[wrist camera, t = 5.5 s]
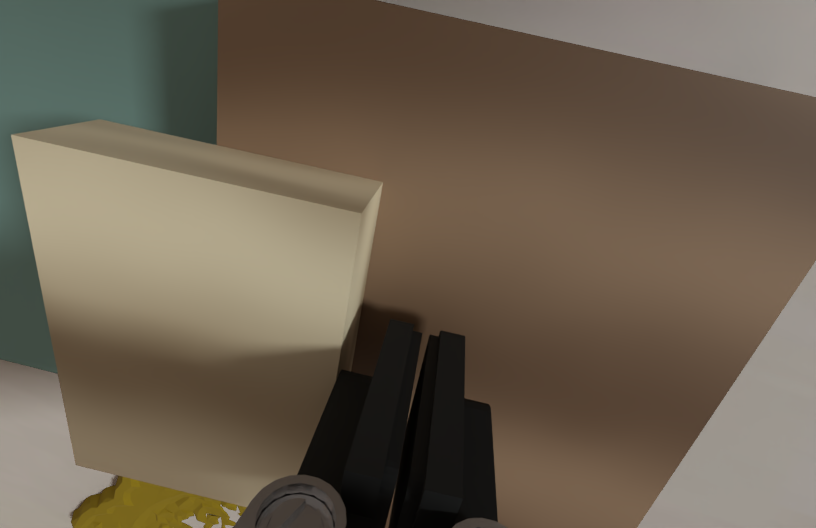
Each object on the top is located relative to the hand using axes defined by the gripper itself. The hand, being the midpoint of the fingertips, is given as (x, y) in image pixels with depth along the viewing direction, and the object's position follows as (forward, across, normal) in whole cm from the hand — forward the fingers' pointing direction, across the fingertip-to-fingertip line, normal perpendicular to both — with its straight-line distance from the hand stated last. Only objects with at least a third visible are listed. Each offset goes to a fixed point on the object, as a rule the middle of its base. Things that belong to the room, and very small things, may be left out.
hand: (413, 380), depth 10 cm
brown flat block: (+5, -1, 0) cm, 5 cm away
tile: (+1, +4, 0) cm, 5 cm away
